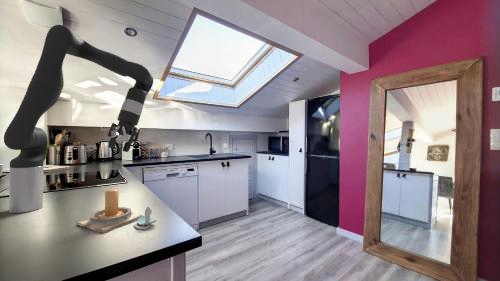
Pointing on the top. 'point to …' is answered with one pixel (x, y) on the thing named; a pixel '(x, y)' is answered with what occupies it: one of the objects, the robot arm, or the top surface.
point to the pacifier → (145, 220)
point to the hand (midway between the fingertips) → (117, 149)
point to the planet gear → (111, 204)
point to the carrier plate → (109, 227)
